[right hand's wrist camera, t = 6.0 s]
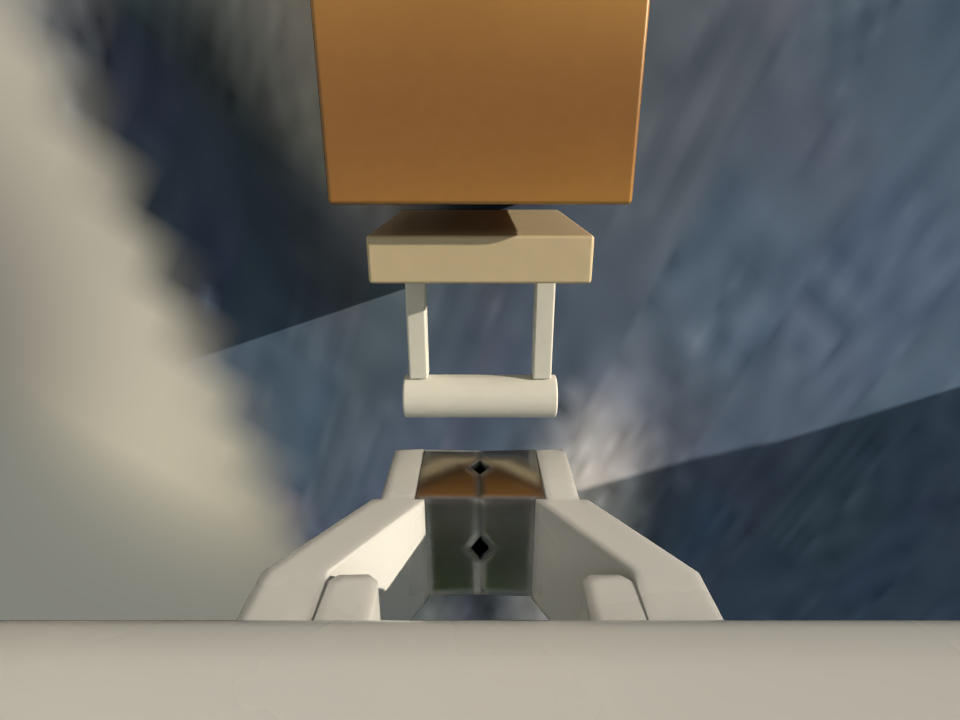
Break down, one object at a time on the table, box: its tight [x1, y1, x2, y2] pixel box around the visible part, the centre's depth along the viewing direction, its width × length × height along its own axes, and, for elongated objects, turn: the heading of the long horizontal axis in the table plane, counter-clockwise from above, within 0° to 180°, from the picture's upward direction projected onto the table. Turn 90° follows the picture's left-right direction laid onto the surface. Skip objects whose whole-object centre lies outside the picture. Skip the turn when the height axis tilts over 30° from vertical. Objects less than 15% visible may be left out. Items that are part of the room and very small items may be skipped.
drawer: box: [366, 210, 594, 417], centre depth 15 cm, size 24×6×7 cm, turn 0°
